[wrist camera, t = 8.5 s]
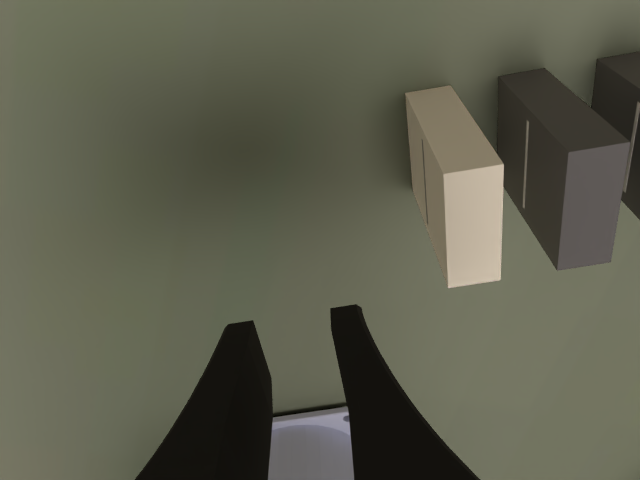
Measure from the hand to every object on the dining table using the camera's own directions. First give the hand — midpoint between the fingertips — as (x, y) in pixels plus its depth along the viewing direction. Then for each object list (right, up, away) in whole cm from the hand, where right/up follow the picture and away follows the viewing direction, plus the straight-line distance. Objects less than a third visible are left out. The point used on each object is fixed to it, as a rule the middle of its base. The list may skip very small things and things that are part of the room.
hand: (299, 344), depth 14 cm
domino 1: (+5, +6, +7) cm, 11 cm away
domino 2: (+8, +7, +7) cm, 13 cm away
